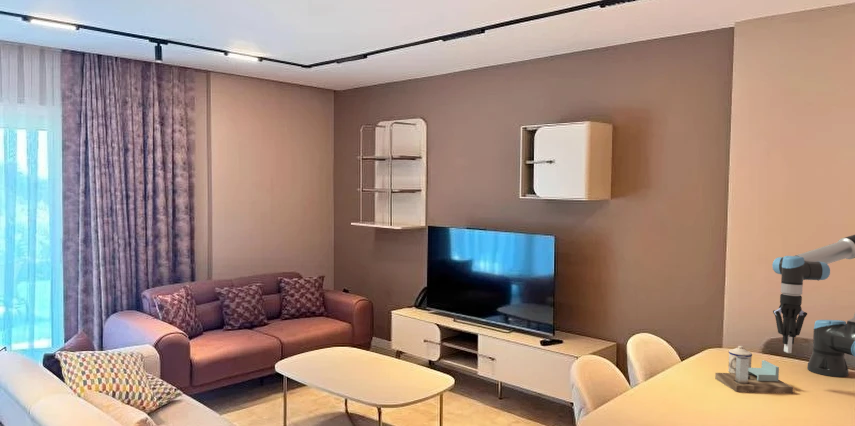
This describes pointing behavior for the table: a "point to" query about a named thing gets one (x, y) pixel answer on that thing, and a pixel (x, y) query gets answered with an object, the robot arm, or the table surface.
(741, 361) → the pin
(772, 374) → the cover
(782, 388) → the base
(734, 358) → the teacup with lid
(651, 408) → the table surface
